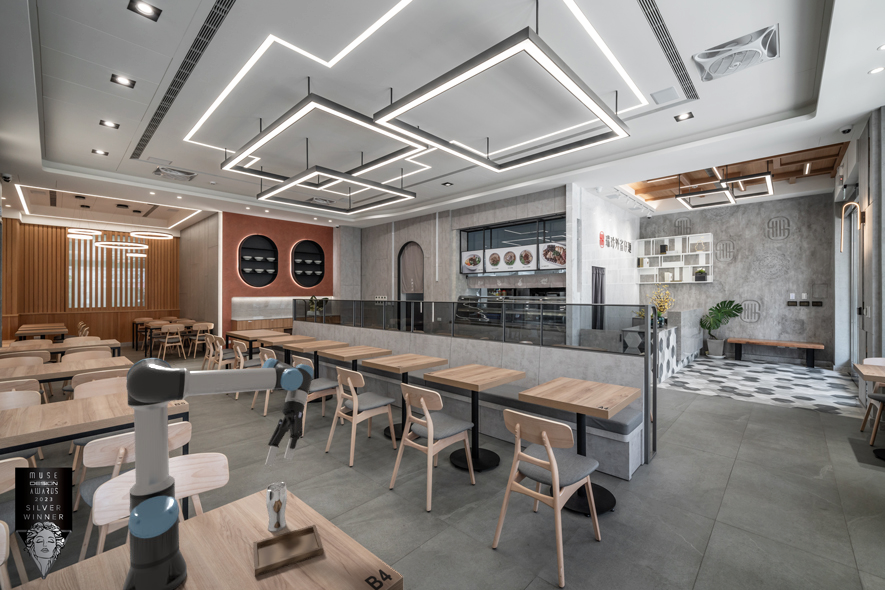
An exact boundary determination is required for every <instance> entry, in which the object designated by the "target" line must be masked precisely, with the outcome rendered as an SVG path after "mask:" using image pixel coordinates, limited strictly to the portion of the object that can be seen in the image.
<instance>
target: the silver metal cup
mask: <svg viewBox="0 0 885 590" xmlns="http://www.w3.org/2000/svg"><path fill="white" fill-rule="evenodd" d="M265 493H266V494H265V502H266V503H265V504H266V509H267V513H268V524H267V530H268V531H269V532H271V533H272V532H273V533H274V532H275V533H276V532H279V531H281V530H283V529H285V528H286V527H287V520H286V508H287V501H288V492H287V484H286V482H284V481H276V482H272V483H270V484H268V485H267V486H266V491H265Z"/></svg>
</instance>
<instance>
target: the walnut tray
mask: <svg viewBox="0 0 885 590" xmlns="http://www.w3.org/2000/svg"><path fill="white" fill-rule="evenodd" d="M252 544H253V563H254V577H258V576H261V575H265V574H267V573H270V572H273V571H277V570H280V569H283V568H285V567H289V566H292V565H295V564H298V563H301V562H304V561H308V560H311V559H313V558H315V557H320V556H323V555H324V552H323V551H324V547H323V545H322V541H321V538H320V535H319V532H318V528H317V524H312V525H309V526H306V527H301V528H298V529H294V530H292V531H289V532H288V531H287V532H283V533H281V534H277V535H274V536H270V537H267V538H263V539H260V540H257V541H253V543H252Z"/></svg>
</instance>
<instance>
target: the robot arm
mask: <svg viewBox="0 0 885 590" xmlns="http://www.w3.org/2000/svg"><path fill="white" fill-rule="evenodd" d="M313 378H314V368H313V367H312V366H310V365H307V364H303V363H300V364H297V365H296V366H292V365H291V364H288V363H285V362H283V361H280V360H279V359H275V358H272V357H270V358H268V359H266V360H265V361H264V363H263V365H262V366H261V368H260V367H258V368H256V367H255V368H234V369H232V368H231V369H230V368H229V369H213V370H212V369H211V370H189V369H187V368H186V367H171V365H170V363H168V362H167V361H166V360H163V359H161V358H157V357H150V358H149V357H148V358H143V359H141V360H139V361H137V362H136V363H134V364H133V365H131V366H130V368H129V370H128V372H126V391H127V406H128V407H130V408H131V409H132V410H133V417H134V418H133V423H134V456H135V457H134V459H135V460H134V463H135V466H134V467H135V469H134V471H135V472H134V473H135V483H134V484H133V485H132V486H131V487H130V489H129V518H128V524H127V526H128V535H129V562H130V563H129V565H130V567H129V568H128V571H127V574H126V578H125V580H124V584H123V586H122V590H173V589H174V590H175V589H177V587H179V586H180V585H181V584H182V583H183V582H184V581H185V579H186V577H187V573H188V572H187V571H188V568H187V567H188V566H187V562H186V560H185V558H184V556H183V554H182V551H181V550H180V530H179V528H180V527H179V523H180V520H179V515H180V507H179V504H178V501H177V498H176V488H175V487H176V485H175V484H176V480H175V479H176V478H174V476H171V475H170V470H169V469H170V467H169V462H170V461H169V460H170V459H169V455H170V453H169V413H168V412H169V411H168V409H169V408H168V404H169V403H170V402H172V401H173V402H174V401H184V400H185V399H186V398H187V397H191V396H206V395H218V394H229V393H230V394H231V393H233V394H234V393H244V392H255V391H256V392H257V391H270V390H285V391H287V394H286V396H285V399H284V400H285V401H284V403H283V407H282V411H281V412H282V414H283V415H284V417H283V419H282V418H279V420H278V423H277V426H276V427H275V429H274V432H273V434H272V435H271V438H270V439H269V441H268V444H267V446H269V450H268V453H267V457H266V461H265V464H264V466H270V467H273V466H274V464H275V460H276V456H277V453H278V450H279V448H280V446H279V445H280V443H281V441H282V440H283V438H284V436H285V434H286V433H288V432H289V433H290V435H289V439H288V442H287V446H286V449H285V453H284V457H283V459H285V460H288V461H292V460H293V457H294V454H295V450H296V446H297V444H298V440H299V439H300V438H302V437H303V430H304V429H303V428H304V427H303V425H304V424H303V419H304V412H305V411H304V410H305V406H306V402H307V401H308V399H307V398H308V394H309V392H310V387H311V385H312V381H313Z"/></svg>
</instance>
